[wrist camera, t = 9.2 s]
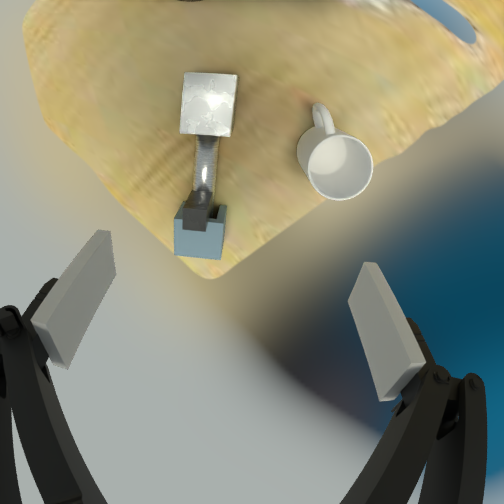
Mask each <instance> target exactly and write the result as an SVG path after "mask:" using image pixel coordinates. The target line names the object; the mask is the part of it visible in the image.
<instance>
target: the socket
mask: <svg viewBox="0 0 504 504" xmlns="http://www.w3.org/2000/svg"><path fill="white" fill-rule="evenodd" d="M185 203H186V202H184V201H183V203H182V205H181V207H180V209H179V211H178V212H177V214H176V216H175V218H174V255H178V256H187V257H196V258H206V259H215V260H221V255H222V248H223V242H224V233H225V222H226V211H227V206H226V205H220V207H219V211H218V215H217V219H209V222H208V226H207V229H206V232H201V231H191V230H182V219H183V206H184V205H185Z"/></svg>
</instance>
